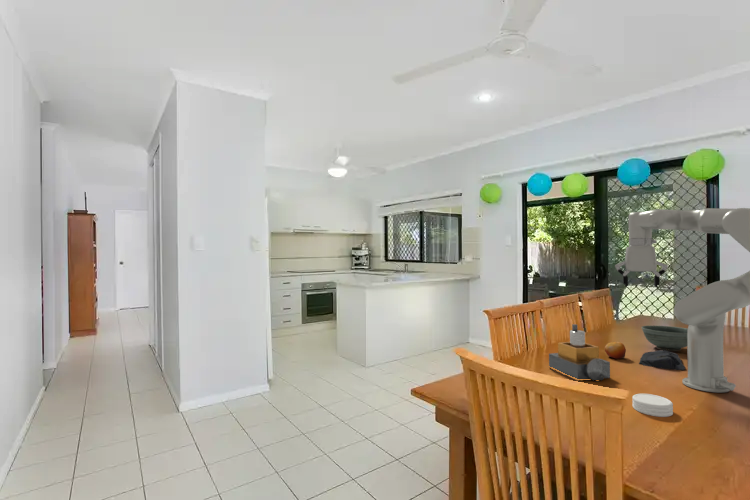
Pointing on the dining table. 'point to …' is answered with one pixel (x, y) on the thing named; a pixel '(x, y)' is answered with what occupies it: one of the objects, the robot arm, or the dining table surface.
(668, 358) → the dark slate chunk
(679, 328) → the bowl
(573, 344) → the spout can
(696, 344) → the robot arm
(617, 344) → the fruit
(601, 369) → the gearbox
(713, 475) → the dining table surface
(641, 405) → the coaster
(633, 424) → the dining table surface
